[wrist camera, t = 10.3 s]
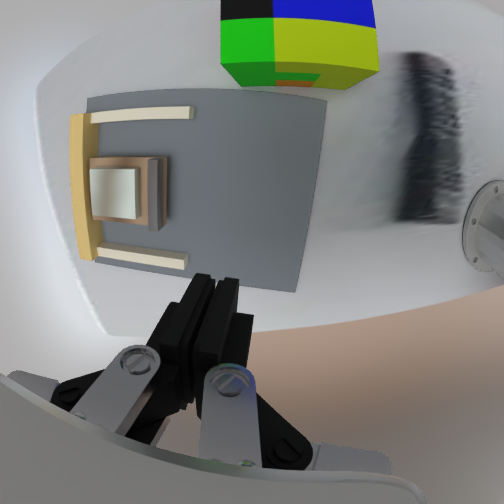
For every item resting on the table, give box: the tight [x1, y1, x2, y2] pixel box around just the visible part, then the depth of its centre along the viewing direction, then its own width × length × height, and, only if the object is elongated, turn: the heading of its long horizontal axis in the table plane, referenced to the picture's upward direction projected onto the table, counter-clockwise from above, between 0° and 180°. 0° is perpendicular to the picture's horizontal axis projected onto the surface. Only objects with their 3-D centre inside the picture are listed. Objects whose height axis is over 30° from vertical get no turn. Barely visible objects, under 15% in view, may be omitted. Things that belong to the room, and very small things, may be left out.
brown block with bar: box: [90, 156, 167, 232], centre depth 26 cm, size 9×7×4 cm
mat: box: [70, 89, 327, 293], centre depth 26 cm, size 26×21×3 cm
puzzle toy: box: [221, 0, 379, 90], centre depth 16 cm, size 10×10×10 cm
